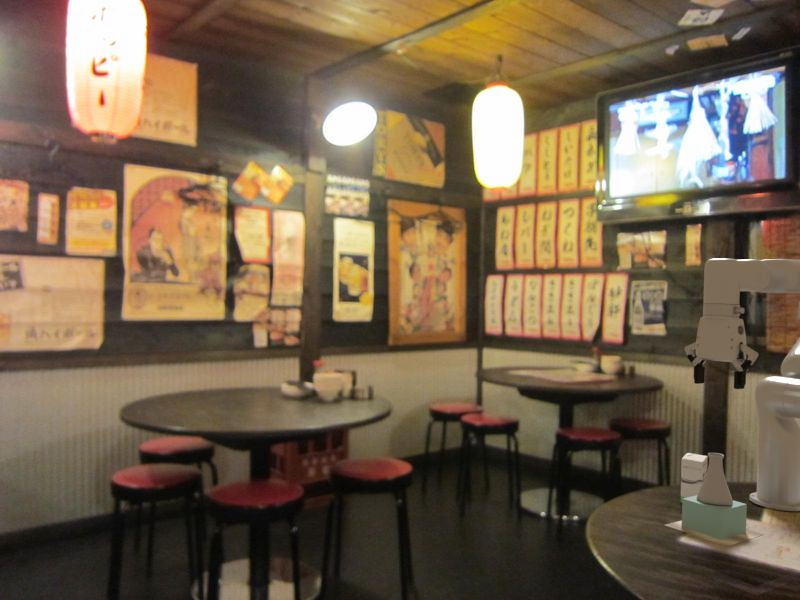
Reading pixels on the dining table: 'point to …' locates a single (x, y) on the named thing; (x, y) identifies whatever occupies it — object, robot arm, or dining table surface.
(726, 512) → the teal block
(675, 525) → the base board
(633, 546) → the dining table surface
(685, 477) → the ink box
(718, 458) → the flask
